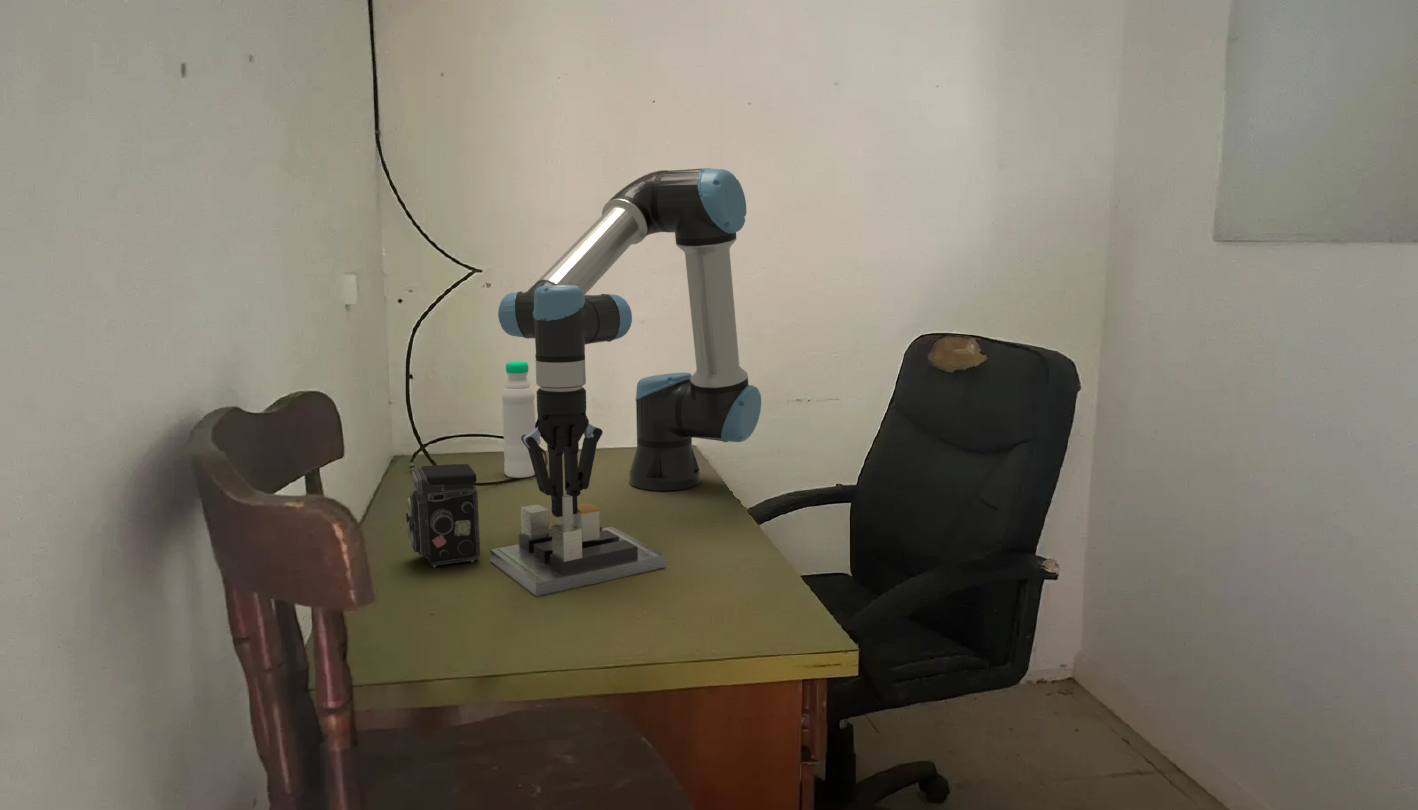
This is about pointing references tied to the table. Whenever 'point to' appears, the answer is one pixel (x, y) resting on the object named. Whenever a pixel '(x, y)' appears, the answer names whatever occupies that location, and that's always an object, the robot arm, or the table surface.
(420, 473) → the camera
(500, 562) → the panel
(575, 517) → the block
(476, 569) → the table surface
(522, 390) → the water bottle
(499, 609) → the table surface
